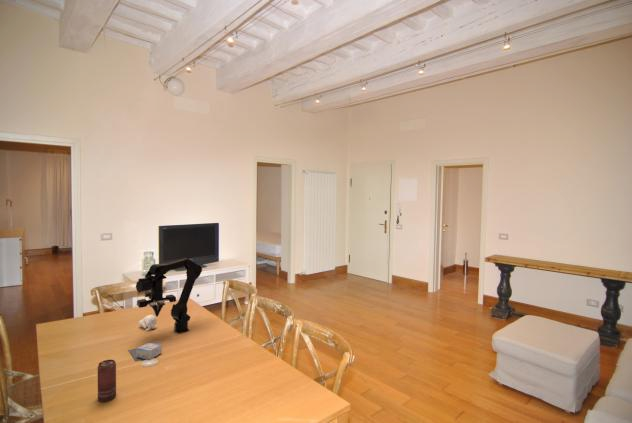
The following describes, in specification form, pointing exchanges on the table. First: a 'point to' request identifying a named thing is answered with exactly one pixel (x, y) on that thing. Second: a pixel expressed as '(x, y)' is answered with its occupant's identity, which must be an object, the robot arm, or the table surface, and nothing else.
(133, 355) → the mat
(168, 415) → the table surface
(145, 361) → the white glossy disc
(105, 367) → the can
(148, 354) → the medicine box
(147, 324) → the white animal figurine
